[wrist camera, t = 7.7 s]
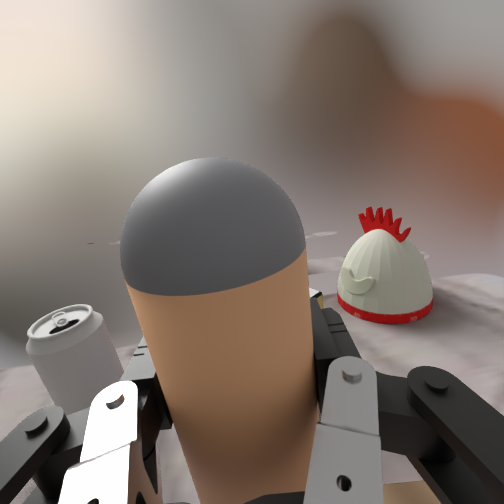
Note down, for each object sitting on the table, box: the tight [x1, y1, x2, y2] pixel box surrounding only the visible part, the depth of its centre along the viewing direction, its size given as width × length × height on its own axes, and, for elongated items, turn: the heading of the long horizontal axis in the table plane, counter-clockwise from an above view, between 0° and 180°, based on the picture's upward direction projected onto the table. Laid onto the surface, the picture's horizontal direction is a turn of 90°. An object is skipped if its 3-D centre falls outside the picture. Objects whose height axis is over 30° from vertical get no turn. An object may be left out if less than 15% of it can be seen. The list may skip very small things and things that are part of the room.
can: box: [26, 304, 124, 416], centre depth 33 cm, size 8×8×12 cm
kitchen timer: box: [337, 207, 433, 324], centre depth 44 cm, size 14×14×15 cm
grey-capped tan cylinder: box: [120, 158, 319, 504], centre depth 10 cm, size 5×5×14 cm
